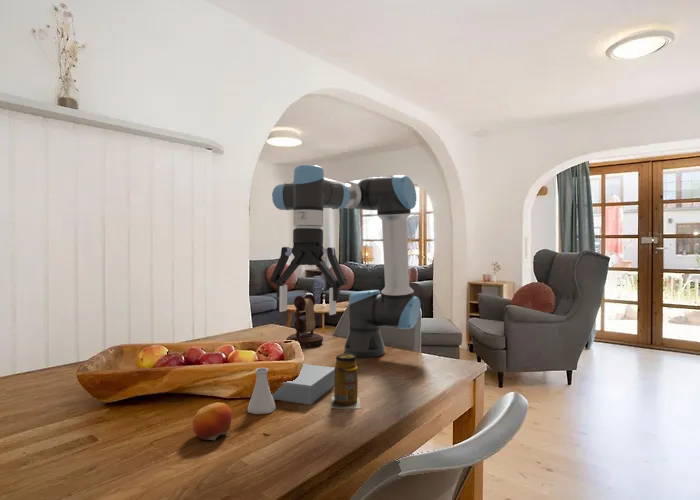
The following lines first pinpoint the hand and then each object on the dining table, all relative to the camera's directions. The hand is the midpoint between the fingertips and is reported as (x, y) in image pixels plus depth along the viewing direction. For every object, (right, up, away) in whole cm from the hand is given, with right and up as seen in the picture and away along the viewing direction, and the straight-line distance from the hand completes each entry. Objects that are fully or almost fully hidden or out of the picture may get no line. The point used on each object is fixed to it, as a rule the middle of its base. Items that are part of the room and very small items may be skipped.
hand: (307, 312), depth 108 cm
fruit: (-19, -24, -15) cm, 34 cm away
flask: (-11, -24, -1) cm, 27 cm away
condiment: (+10, -24, +3) cm, 26 cm away
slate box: (-2, -24, +11) cm, 26 cm away
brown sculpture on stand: (-8, -23, +67) cm, 71 cm away
